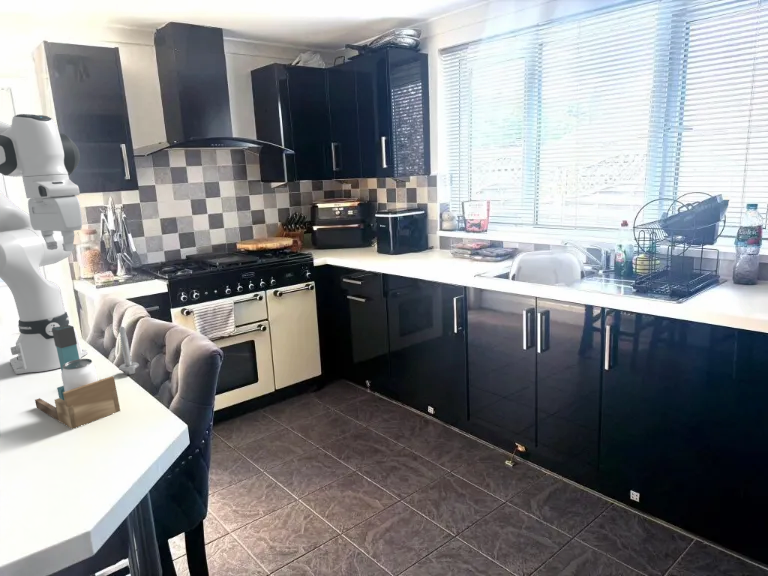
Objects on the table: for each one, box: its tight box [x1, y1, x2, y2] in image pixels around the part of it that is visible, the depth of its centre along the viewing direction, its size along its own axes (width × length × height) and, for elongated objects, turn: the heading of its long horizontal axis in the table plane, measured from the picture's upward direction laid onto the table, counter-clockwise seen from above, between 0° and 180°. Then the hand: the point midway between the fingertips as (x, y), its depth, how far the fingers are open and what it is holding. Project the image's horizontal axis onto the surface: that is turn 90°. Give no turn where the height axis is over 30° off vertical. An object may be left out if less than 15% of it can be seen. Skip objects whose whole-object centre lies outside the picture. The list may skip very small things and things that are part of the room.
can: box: [61, 358, 99, 392], centre depth 117 cm, size 6×6×12 cm
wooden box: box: [34, 375, 121, 430], centre depth 121 cm, size 20×10×8 cm, turn 51°
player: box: [52, 324, 79, 401], centre depth 119 cm, size 3×6×19 cm, turn 141°
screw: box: [118, 326, 140, 376], centre depth 141 cm, size 13×5×5 cm
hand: (60, 250), depth 123 cm, fingers open, 8 cm apart
